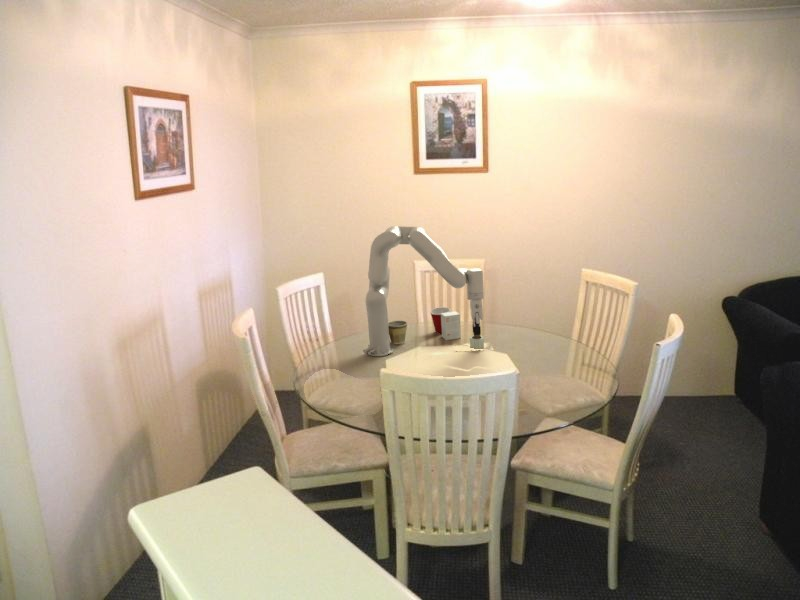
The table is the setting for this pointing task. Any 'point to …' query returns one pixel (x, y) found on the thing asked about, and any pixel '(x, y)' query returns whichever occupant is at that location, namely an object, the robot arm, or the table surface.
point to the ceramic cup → (397, 331)
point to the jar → (477, 342)
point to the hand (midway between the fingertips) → (476, 333)
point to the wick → (476, 335)
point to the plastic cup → (438, 317)
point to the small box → (450, 325)
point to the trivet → (486, 345)
